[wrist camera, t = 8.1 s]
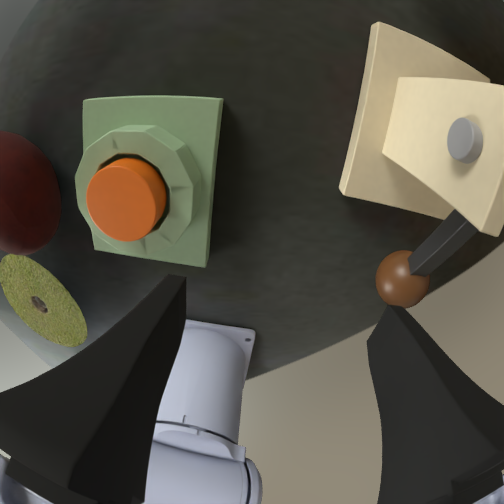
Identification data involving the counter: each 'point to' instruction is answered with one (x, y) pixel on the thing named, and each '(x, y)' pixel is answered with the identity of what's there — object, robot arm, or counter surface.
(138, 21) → the counter surface
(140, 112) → the control block
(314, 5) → the counter surface
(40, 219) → the potato
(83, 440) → the robot arm
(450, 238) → the lever
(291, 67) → the counter surface
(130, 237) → the button
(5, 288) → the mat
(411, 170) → the bracket
